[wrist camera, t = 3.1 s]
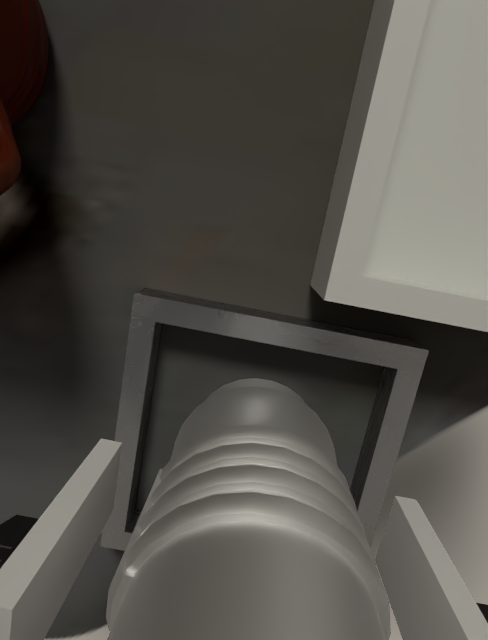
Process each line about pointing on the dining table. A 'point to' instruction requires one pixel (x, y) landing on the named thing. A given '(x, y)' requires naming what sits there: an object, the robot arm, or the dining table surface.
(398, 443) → the grey square frame
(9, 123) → the mug
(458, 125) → the bin
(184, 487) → the grey tall round piece
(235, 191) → the dining table surface
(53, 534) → the robot arm
